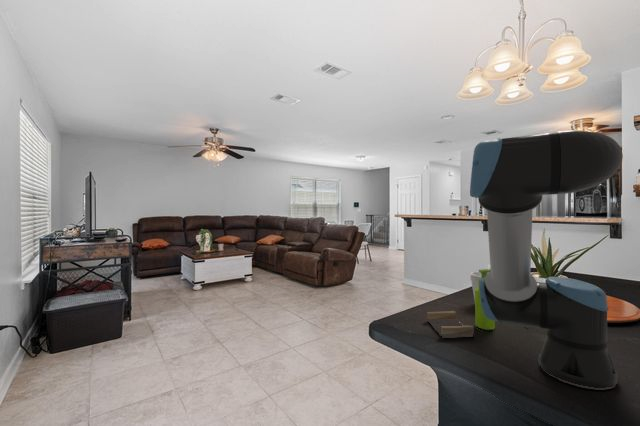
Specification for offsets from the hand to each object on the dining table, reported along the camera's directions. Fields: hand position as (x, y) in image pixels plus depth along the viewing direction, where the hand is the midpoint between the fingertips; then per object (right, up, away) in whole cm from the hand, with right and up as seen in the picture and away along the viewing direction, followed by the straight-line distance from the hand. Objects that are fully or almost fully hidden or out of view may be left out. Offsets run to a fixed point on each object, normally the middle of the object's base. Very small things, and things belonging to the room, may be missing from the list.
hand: (511, 259), depth 104 cm
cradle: (-21, -24, +1) cm, 32 cm away
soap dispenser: (-8, -24, +1) cm, 25 cm away
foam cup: (+2, -22, +21) cm, 31 cm away
